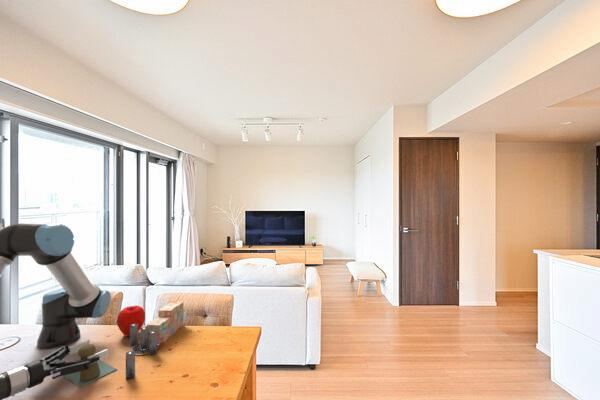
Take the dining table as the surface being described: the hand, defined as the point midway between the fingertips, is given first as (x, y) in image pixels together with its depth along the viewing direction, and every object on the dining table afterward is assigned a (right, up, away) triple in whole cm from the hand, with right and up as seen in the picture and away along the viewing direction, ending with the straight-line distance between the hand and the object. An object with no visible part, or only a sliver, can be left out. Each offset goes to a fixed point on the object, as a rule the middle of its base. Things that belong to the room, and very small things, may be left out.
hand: (98, 347), depth 112 cm
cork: (+2, -7, -6) cm, 10 cm away
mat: (-2, -8, -3) cm, 8 cm away
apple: (-3, -8, +27) cm, 28 cm away
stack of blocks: (+14, -8, +27) cm, 31 cm away
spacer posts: (+10, -7, +6) cm, 14 cm away
